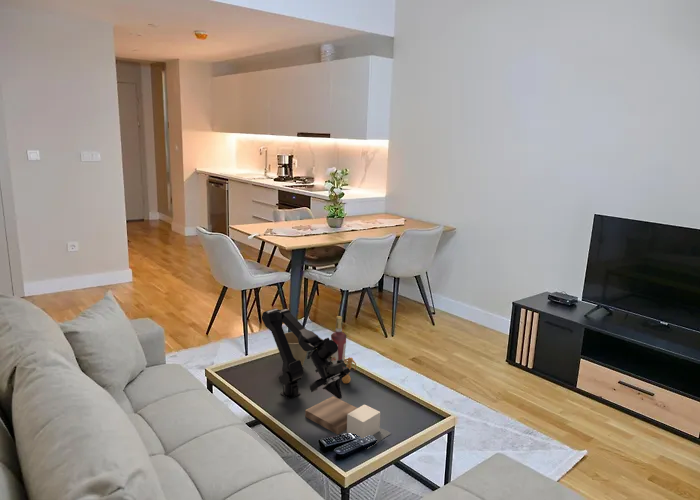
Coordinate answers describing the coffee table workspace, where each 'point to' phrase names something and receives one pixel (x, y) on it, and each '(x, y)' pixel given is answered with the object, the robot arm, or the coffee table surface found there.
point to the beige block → (363, 421)
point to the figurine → (350, 360)
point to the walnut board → (330, 414)
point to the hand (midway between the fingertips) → (340, 398)
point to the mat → (376, 435)
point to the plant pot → (295, 347)
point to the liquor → (339, 341)
